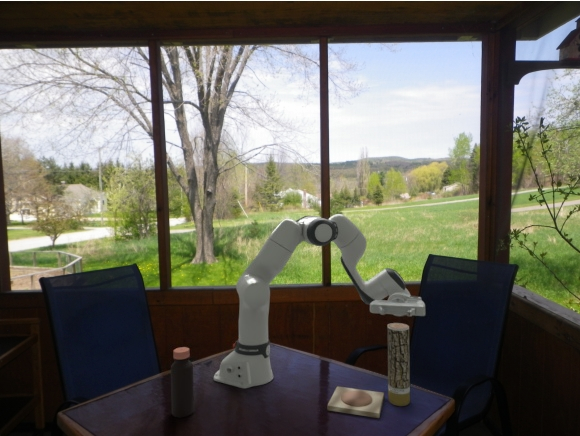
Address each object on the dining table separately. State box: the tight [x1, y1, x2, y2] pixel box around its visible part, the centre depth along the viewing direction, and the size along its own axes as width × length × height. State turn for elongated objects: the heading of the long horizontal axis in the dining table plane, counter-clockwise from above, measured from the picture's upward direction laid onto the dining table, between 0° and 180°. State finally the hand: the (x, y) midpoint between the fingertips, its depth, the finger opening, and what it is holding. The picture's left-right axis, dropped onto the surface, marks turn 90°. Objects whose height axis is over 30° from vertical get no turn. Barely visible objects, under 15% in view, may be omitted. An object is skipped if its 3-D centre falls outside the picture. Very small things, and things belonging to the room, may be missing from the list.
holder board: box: [326, 386, 385, 419], centre depth 129 cm, size 16×14×2 cm
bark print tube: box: [386, 322, 411, 407], centre depth 130 cm, size 7×7×25 cm
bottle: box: [170, 346, 195, 419], centre depth 125 cm, size 7×7×20 cm
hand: (395, 313), depth 144 cm, fingers open, 8 cm apart
